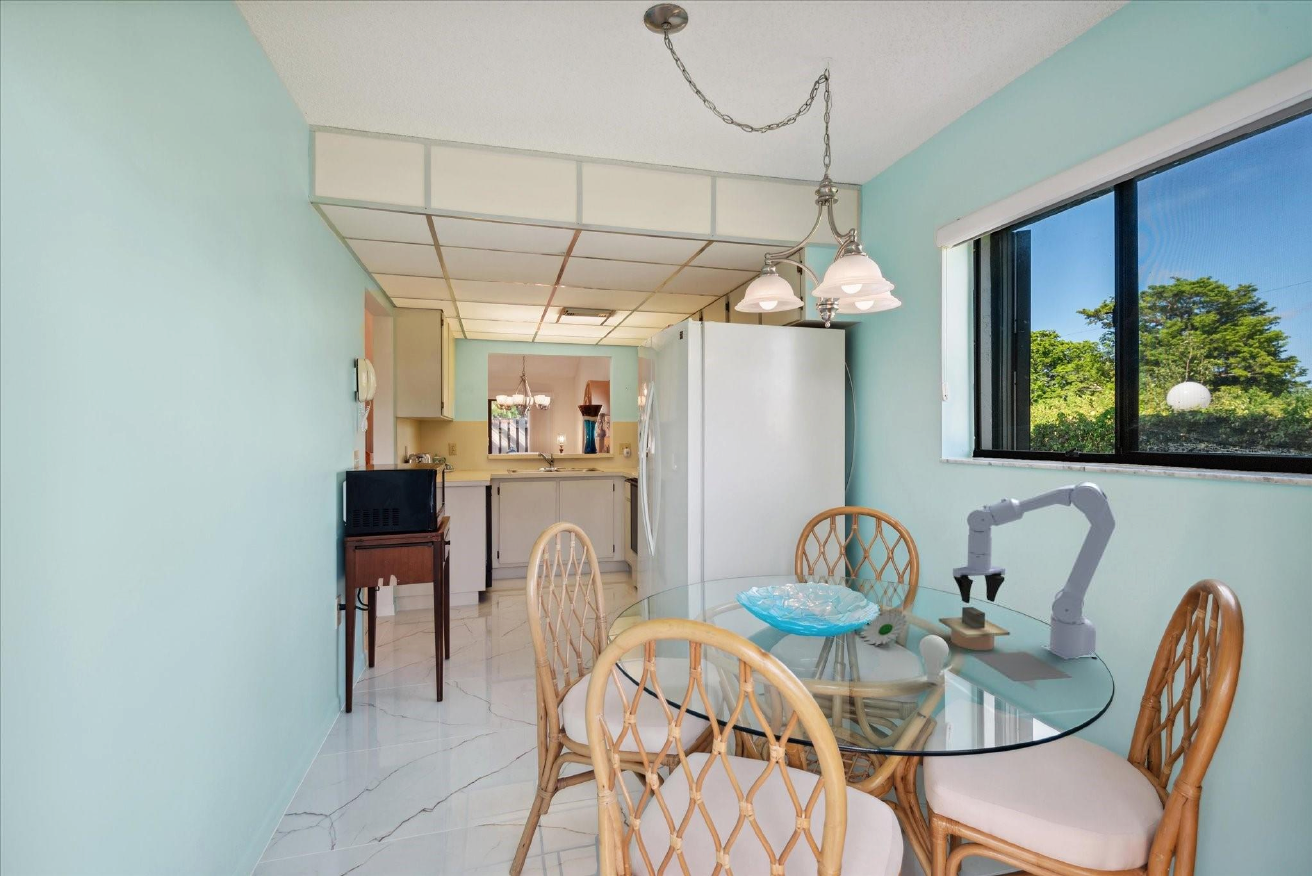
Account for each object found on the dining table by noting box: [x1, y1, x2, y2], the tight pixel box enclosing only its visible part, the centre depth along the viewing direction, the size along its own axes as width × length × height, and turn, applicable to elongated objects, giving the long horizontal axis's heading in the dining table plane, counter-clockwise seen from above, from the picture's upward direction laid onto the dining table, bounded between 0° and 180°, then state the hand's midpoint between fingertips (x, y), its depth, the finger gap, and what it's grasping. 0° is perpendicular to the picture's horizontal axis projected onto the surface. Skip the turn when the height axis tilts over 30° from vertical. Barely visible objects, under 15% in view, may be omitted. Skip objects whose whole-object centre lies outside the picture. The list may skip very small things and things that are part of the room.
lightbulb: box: [918, 634, 950, 685], centre depth 139 cm, size 6×6×11 cm
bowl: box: [950, 628, 995, 651], centre depth 163 cm, size 10×10×4 cm
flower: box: [859, 608, 907, 646], centre depth 173 cm, size 13×6×30 cm
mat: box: [971, 651, 1073, 682], centre depth 148 cm, size 15×15×1 cm
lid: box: [938, 606, 1011, 638], centre depth 162 cm, size 12×12×5 cm
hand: (978, 601), depth 169 cm, fingers open, 7 cm apart
